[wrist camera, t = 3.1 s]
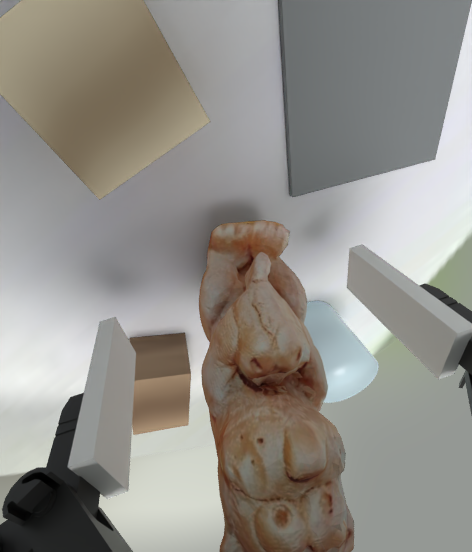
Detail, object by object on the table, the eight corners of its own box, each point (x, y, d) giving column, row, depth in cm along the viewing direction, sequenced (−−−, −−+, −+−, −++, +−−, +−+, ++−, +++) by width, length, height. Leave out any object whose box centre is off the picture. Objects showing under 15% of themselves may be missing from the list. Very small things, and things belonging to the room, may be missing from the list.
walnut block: (130, 336, 21) (126, 381, 18) (184, 331, 22) (190, 373, 19) (135, 388, 24) (133, 434, 21) (183, 381, 25) (188, 425, 22)
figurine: (270, 198, 18) (541, 441, 5) (262, 295, 22) (404, 556, 10) (169, 204, 16) (227, 545, 4) (181, 307, 20) (227, 627, 8)
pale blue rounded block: (279, 311, 23) (313, 370, 18) (335, 293, 24) (382, 346, 19) (283, 350, 26) (314, 410, 21) (333, 334, 27) (374, 389, 22)
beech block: (25, 63, 12) (-41, 51, 8) (121, -12, 11) (104, -70, 7) (113, 169, 15) (99, 199, 11) (193, 112, 14) (210, 121, 10)
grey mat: (276, -33, 12) (280, -36, 12) (479, -67, 13) (488, -71, 13) (290, 195, 18) (292, 197, 17) (430, 158, 19) (435, 159, 18)
